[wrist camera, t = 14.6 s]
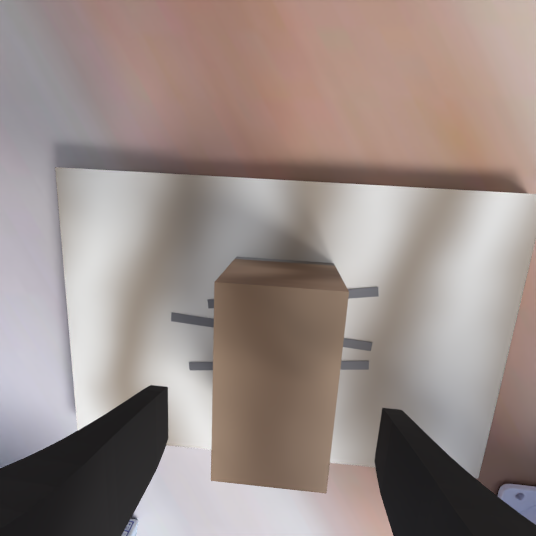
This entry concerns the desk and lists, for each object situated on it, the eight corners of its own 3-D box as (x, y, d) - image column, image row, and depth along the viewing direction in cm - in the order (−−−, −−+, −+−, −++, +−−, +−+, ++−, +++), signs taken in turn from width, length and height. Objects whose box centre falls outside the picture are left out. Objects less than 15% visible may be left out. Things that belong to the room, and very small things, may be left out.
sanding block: (333, 263, 17) (348, 291, 12) (318, 416, 19) (326, 493, 14) (236, 256, 18) (214, 282, 13) (231, 408, 20) (210, 480, 15)
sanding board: (528, 194, 17) (546, 194, 16) (468, 462, 21) (478, 479, 19) (70, 168, 18) (54, 167, 17) (89, 422, 22) (77, 436, 21)
